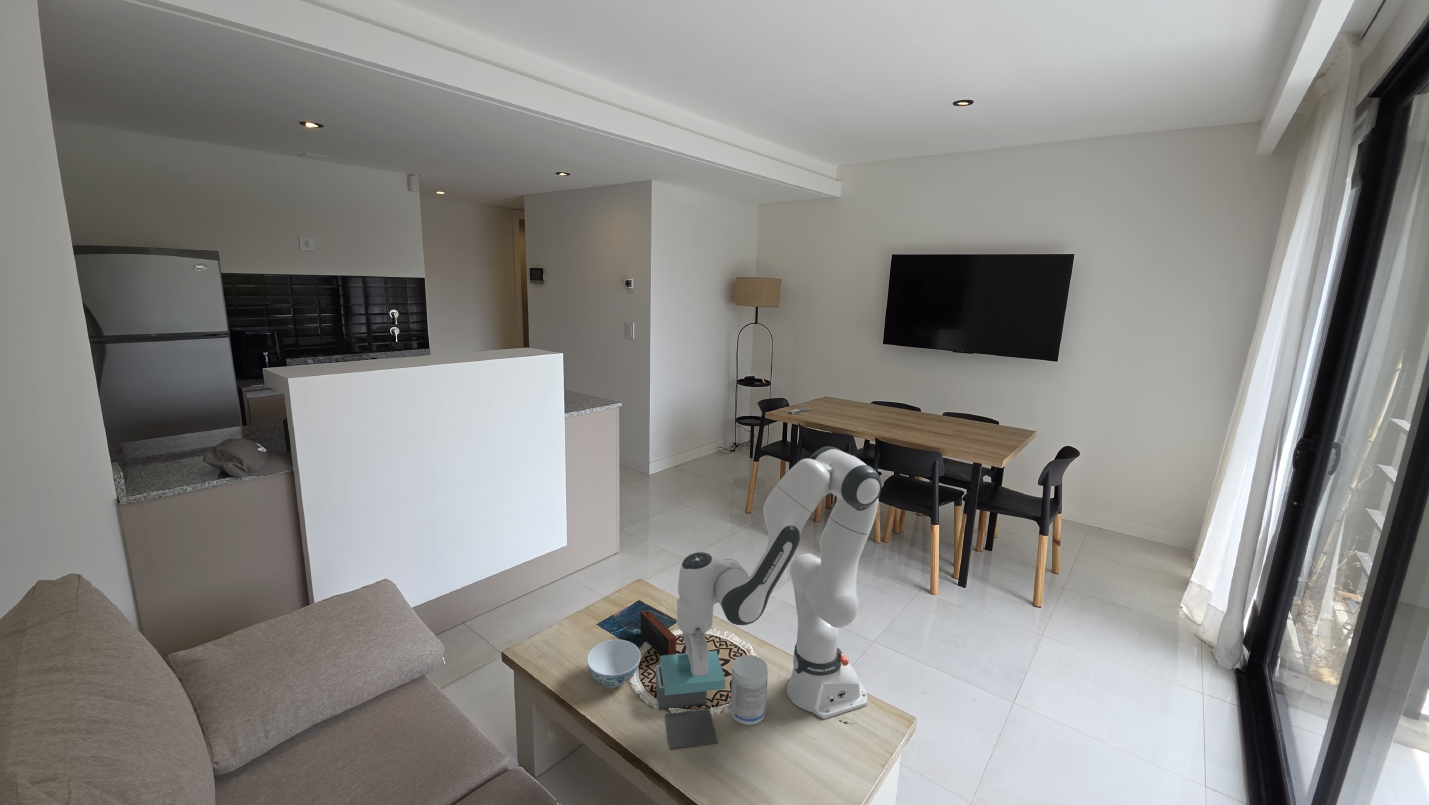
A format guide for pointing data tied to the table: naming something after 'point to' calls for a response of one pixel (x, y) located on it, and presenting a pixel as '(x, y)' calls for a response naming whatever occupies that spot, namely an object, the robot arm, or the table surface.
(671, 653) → the radio
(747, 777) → the table surface
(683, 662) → the lid
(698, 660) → the robot arm
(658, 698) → the storage box
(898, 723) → the table surface
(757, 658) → the supplement tub
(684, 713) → the mat
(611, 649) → the chinaware
